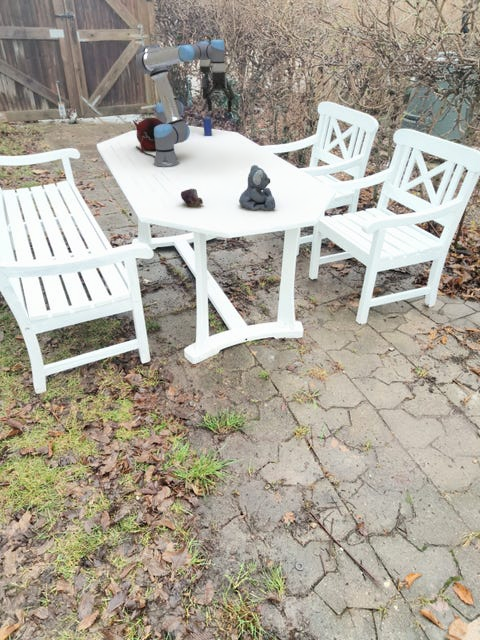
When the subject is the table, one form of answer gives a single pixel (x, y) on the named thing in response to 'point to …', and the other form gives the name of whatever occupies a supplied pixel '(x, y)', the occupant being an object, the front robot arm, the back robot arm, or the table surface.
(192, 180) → the table surface
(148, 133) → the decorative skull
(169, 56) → the front robot arm
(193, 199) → the rock
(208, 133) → the can
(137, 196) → the table surface
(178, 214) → the table surface
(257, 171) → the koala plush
